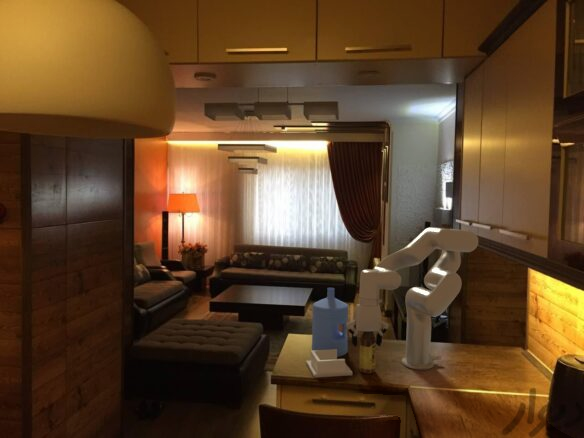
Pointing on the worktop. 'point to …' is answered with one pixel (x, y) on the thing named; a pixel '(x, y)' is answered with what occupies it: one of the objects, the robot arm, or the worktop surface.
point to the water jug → (330, 324)
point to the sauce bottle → (367, 353)
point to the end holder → (327, 364)
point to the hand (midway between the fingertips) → (366, 345)
